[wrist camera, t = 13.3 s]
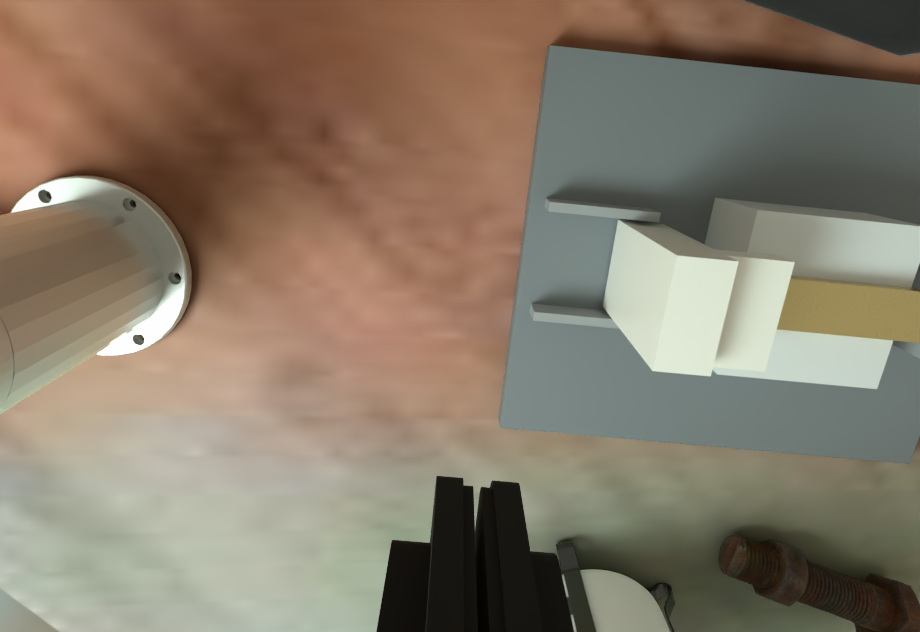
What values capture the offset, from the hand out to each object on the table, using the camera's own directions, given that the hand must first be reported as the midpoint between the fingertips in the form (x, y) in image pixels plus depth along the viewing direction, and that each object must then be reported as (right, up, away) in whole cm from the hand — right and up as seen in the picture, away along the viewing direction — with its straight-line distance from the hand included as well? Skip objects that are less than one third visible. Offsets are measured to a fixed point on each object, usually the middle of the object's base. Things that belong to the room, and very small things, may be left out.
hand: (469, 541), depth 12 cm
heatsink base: (+19, +8, +30) cm, 37 cm away
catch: (+13, +8, +28) cm, 32 cm away
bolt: (+28, -16, +38) cm, 50 cm away
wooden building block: (+25, +6, +27) cm, 37 cm away
